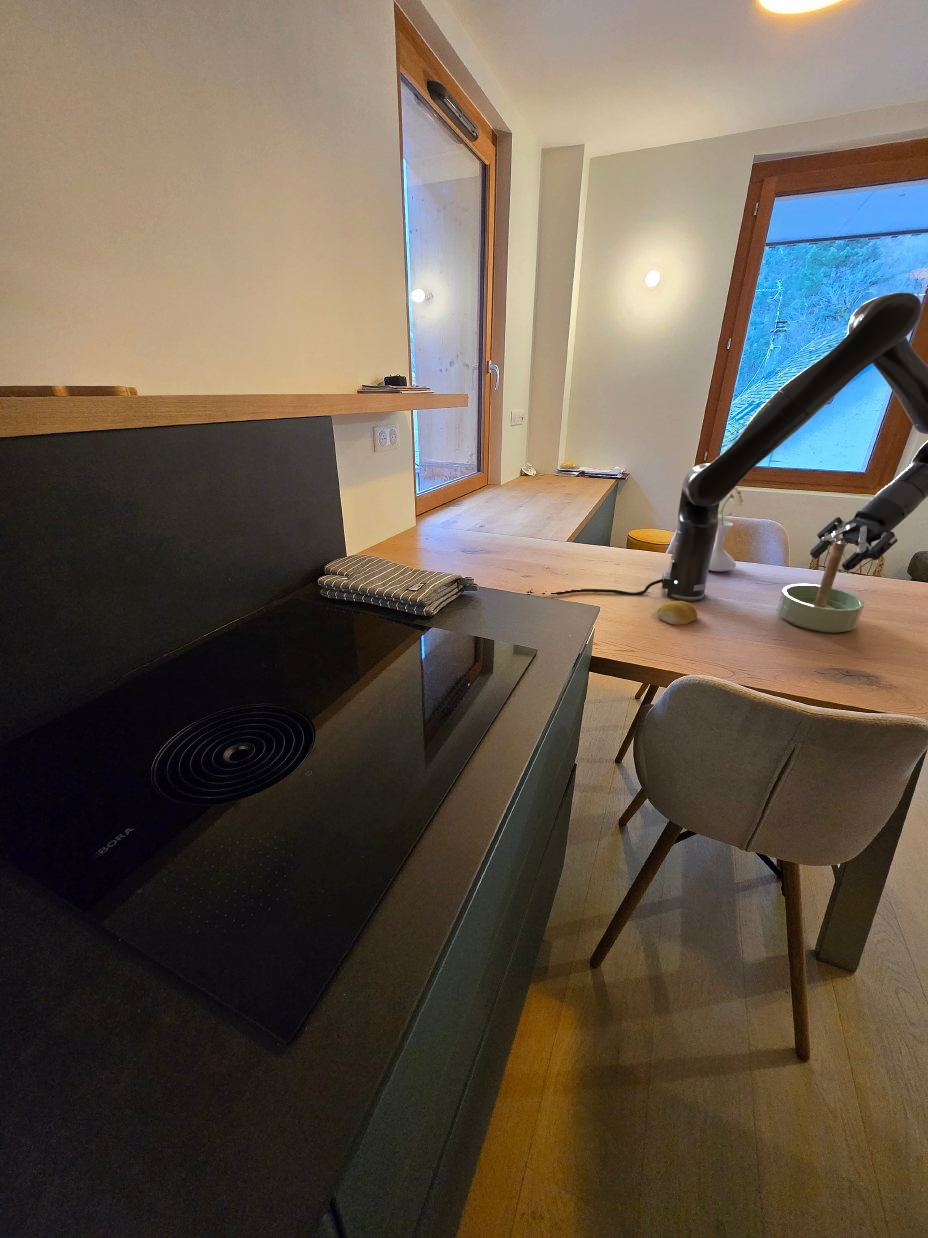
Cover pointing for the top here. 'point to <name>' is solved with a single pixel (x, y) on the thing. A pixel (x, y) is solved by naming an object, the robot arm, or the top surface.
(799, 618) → the bowl
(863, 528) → the robot arm
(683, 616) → the bread roll
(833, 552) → the wooden plunger
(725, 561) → the flower in vase
